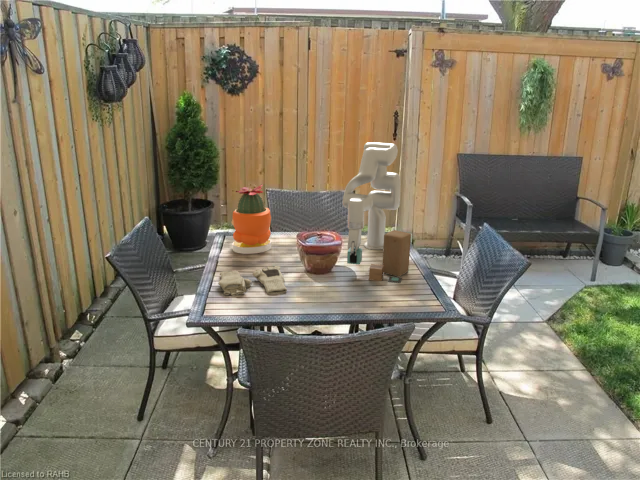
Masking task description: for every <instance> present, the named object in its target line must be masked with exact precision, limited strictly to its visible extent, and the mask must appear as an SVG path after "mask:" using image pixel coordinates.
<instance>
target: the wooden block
mask: <svg viewBox="0 0 640 480" xmlns="http://www.w3.org/2000/svg"><path fill="white" fill-rule="evenodd" d="M411 240H412V234H411V233H410V232H405V231H400V230H397V229H393V230H390V231H389V232H385V235H384V245H383V249H382V264H381V265H384V270H383V274H387V275H391V276H393V277H400V278H401V277H402V276H403V275H405V274H406V273H408V272H409V268H410V267H409V266H410V255H411V254H410V252H411V242H412V241H411Z"/></svg>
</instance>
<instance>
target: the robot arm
mask: <svg viewBox="0 0 640 480" xmlns="http://www.w3.org/2000/svg"><path fill="white" fill-rule="evenodd" d="M398 154H399V151H398V146H397V144H395V143H391V142H390V143H389V142H379V141H378V142H377V141H376V142H375V141H373V142H368V141H367V142H366V143H365V144H364V146H363V152H362V156H361V160H360V165H359V170H358V173H357V175H355V176H354V177H352V178H351V179H350V180H349V181H348V182H347V184H346V186H345V189H344V193H343V196H342V206H343V207H344V208H345V209H347V229H348V237H347V249H348V250H349V249H350V248H351V251H350V263H357V255H356V253H357V249H358V248H360V247H361V244H362V230H363V229H364V226H365V225H364V224H365V212H367V211H368V213H367V215H368V216H367V220H368V221H367V238H366V239H367V240H366V241H365V242H364V244H363V247H364V248H366V249H368V250H374V251H376V250H377V251H379V250H383V245H384V235H385V234H386V219H387V218H386V217H387V216H386V213H385V211H384V210H393V211H395V210H398V209H399V208H400V202H401V186H402V185H401V183H402V182H401V175H399V173H397V172H391V171H387V169H388V166H391V165H392V164H393V163H394V161H395V160H396V159H397V157H398ZM368 183H370V187H371V188H373V190H371V191H369V192H368V194H362V193H353V191H354V190H355V189H356V188H358V187H360V186H363V185H366V184H368ZM374 189H375V190H374ZM354 248H356V249H354ZM354 250H355V251H354Z"/></svg>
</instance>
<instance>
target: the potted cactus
mask: <svg viewBox="0 0 640 480" xmlns="http://www.w3.org/2000/svg"><path fill="white" fill-rule="evenodd" d="M263 186H264V184H260V185H258V186H256V187H255V188H254V187H253V186H251V187H250V186H243V187H239V189H240V190H235V193H239V194H240V197H239V199H238V200H237V205H236V208H235V210H234V211H232V220H231V225H232V226H233V227H234V229H235V230H234V232H233V234H232V237H233V240H234V241H233V242H232V244H231V245H232V246H231V247H232V251H233V252H234V253H238V254H244V255H247V254H258V253H260V254H261V253H264V252H267V251H269V250H271V249H272V240H271V239H270V237H271V236H272V233H271V229H270V228H271V224H272V223H271V221H272V215H271V214H272V213H271V210H270V208H269V207H265V201H264V199H263V197H262V194H263V193H264V191H263V190H262V187H263Z"/></svg>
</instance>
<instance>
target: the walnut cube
mask: <svg viewBox="0 0 640 480" xmlns="http://www.w3.org/2000/svg"><path fill="white" fill-rule="evenodd" d="M383 270H384V265H382V264H379V263H378V264H376V263H370V266H369V268H368V280H369V281H377V282H382V280H383V278H384V273H383Z"/></svg>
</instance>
